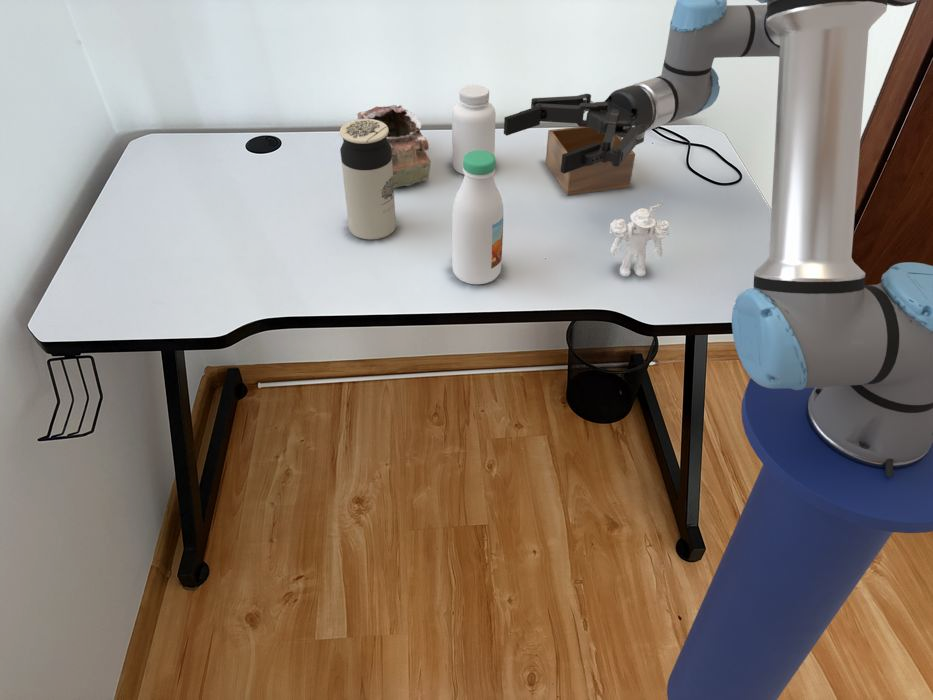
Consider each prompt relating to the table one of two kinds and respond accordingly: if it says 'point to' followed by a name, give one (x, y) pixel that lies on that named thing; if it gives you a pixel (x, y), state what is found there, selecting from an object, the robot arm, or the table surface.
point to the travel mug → (368, 178)
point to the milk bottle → (477, 222)
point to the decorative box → (403, 143)
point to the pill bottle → (472, 124)
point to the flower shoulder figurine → (638, 238)
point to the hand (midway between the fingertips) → (533, 144)
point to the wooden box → (586, 176)
